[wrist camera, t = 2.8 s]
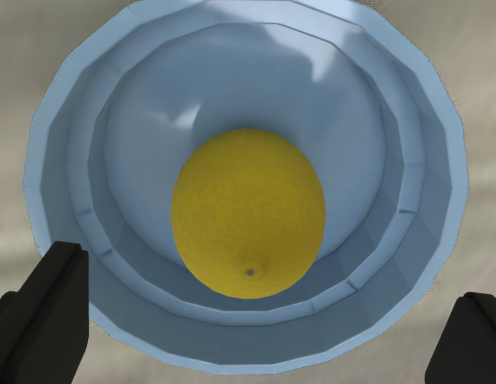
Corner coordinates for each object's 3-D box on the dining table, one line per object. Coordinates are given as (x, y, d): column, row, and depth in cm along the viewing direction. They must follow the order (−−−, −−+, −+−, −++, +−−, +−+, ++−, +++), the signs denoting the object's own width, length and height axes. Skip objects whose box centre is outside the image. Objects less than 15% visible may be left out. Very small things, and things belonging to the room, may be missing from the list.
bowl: (49, 255, 22) (1, 327, 18) (110, -87, 16) (61, -111, 12) (334, 327, 25) (355, 406, 20) (481, 53, 18) (560, 78, 14)
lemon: (295, 91, 19) (333, 165, 11) (317, 207, 21) (358, 328, 14) (167, 121, 19) (125, 209, 12) (202, 231, 21) (184, 361, 14)
